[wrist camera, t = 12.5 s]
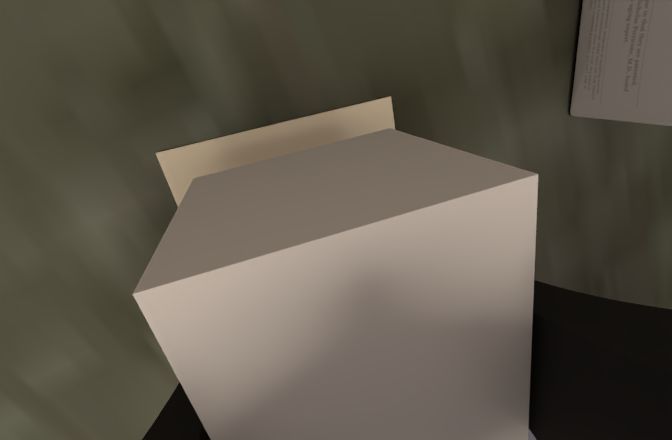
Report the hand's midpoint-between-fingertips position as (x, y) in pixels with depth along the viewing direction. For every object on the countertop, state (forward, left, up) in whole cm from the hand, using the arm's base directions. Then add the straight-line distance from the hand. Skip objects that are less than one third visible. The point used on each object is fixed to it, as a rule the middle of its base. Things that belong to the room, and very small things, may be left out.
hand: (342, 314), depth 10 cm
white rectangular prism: (0, 0, -2) cm, 2 cm away
